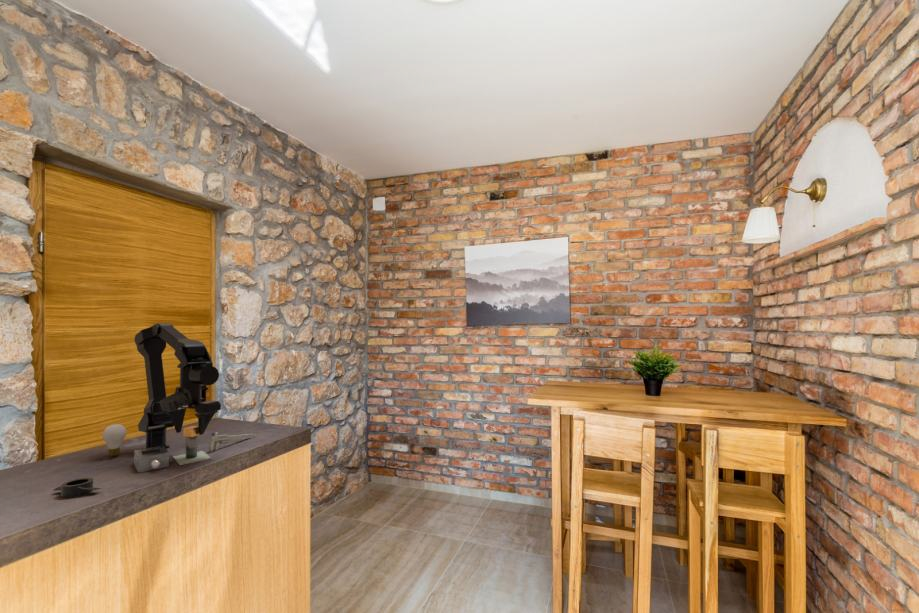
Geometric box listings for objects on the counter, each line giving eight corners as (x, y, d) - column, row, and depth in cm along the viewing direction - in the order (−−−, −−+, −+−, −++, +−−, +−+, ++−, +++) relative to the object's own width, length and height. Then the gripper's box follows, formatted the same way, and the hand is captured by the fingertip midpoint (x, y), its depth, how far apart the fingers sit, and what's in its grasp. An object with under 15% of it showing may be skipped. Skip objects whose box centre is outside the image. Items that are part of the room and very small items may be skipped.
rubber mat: (173, 457, 130) (173, 456, 130) (202, 452, 136) (202, 450, 136) (179, 465, 123) (179, 463, 123) (210, 459, 128) (210, 457, 128)
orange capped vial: (192, 455, 131) (192, 425, 131) (199, 456, 130) (199, 426, 131) (183, 458, 128) (183, 428, 129) (190, 459, 127) (191, 428, 128)
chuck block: (133, 464, 124) (134, 450, 125) (162, 458, 129) (162, 445, 129) (140, 476, 114) (140, 461, 114) (171, 470, 119) (171, 455, 119)
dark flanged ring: (92, 484, 109) (92, 473, 109) (102, 494, 103) (103, 482, 103) (51, 494, 103) (51, 482, 103) (59, 505, 97) (60, 492, 97)
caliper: (211, 453, 135) (211, 433, 135) (208, 453, 135) (208, 433, 135) (257, 436, 155) (257, 419, 155) (254, 436, 155) (254, 419, 155)
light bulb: (127, 456, 132) (128, 423, 133) (103, 460, 128) (104, 427, 128) (124, 452, 136) (124, 421, 137) (100, 456, 132) (101, 424, 132)
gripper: (142, 385, 127) (141, 438, 127) (190, 388, 122) (189, 443, 121) (177, 380, 138) (176, 428, 137) (222, 382, 132) (221, 433, 132)
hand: (189, 433), depth 132 cm, fingers open, 9 cm apart
